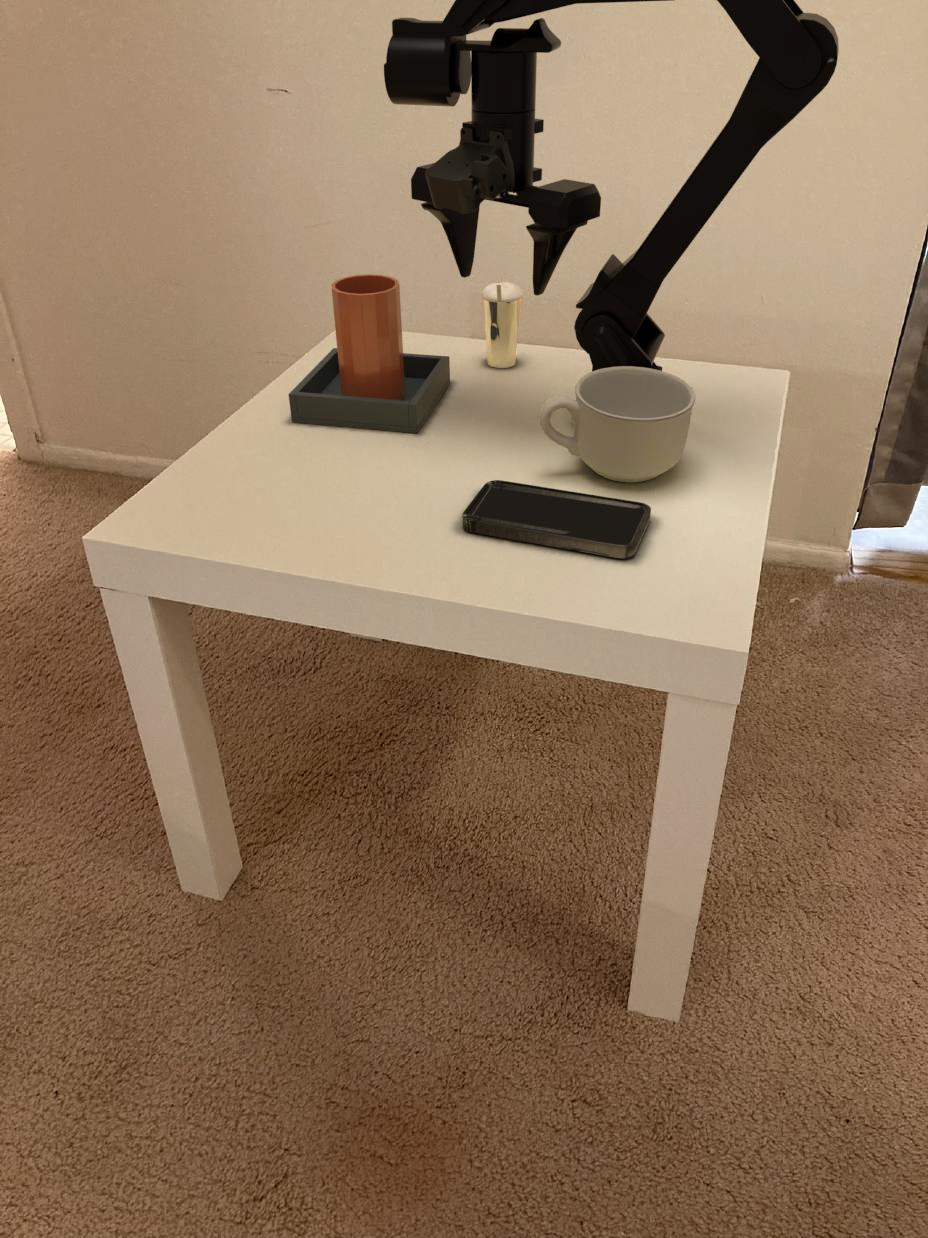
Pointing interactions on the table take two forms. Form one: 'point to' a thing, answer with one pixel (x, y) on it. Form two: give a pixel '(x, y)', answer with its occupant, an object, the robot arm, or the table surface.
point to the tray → (327, 406)
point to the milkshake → (501, 322)
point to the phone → (558, 518)
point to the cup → (369, 336)
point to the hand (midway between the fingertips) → (501, 285)
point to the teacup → (625, 421)
